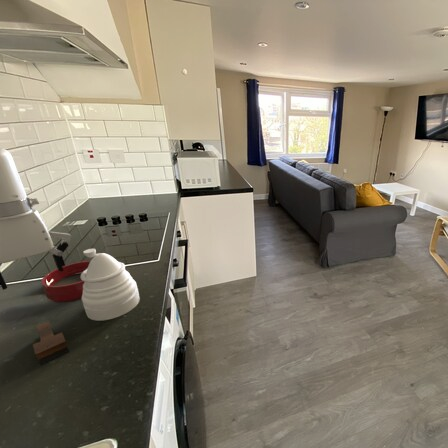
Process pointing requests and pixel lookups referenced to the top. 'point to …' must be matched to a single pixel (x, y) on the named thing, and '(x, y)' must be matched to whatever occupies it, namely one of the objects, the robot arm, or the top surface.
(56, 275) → the bowl
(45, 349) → the t-shaped block
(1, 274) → the robot arm
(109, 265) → the honey pot
